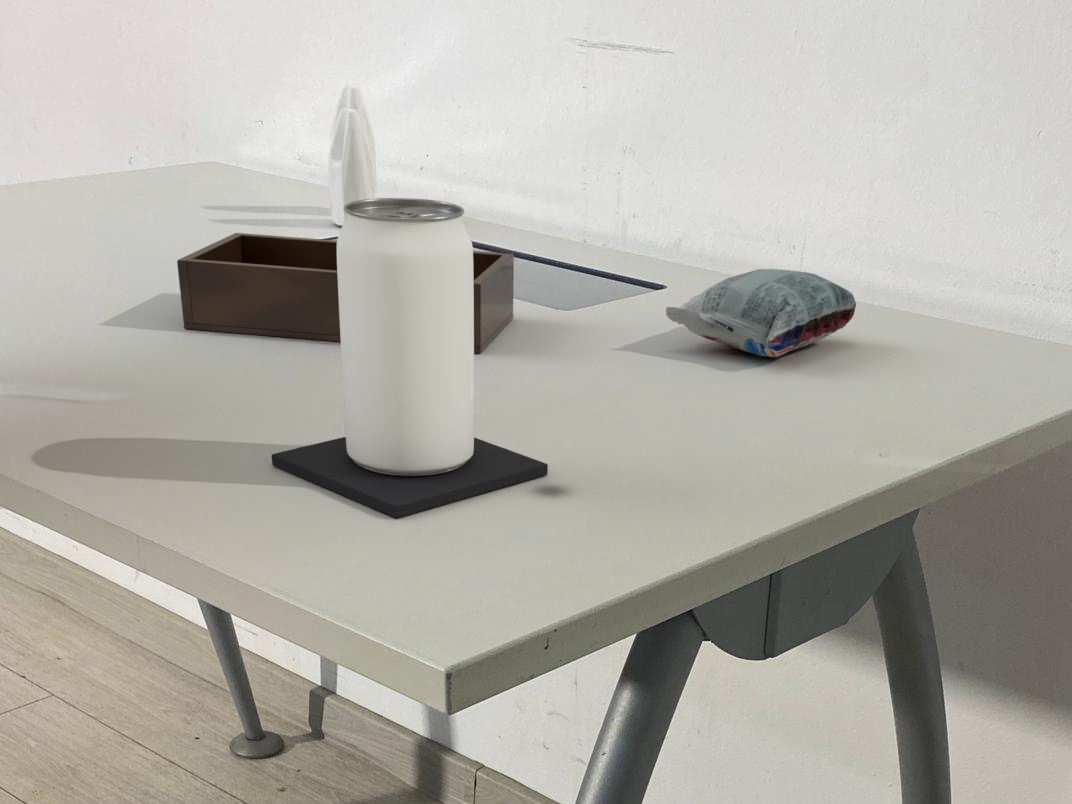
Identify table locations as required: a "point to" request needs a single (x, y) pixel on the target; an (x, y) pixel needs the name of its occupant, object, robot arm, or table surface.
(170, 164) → the table surface
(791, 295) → the packaged food
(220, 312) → the brown wooden box
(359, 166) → the white ridged upright piece
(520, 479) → the mat
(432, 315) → the can
